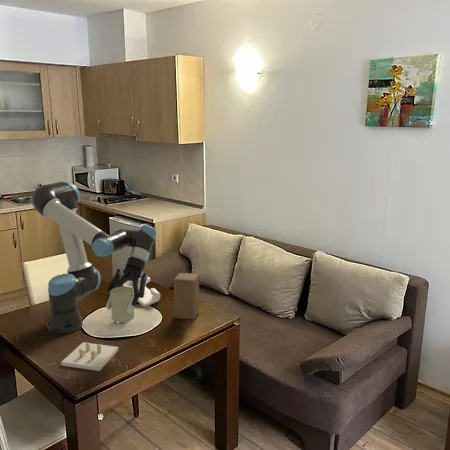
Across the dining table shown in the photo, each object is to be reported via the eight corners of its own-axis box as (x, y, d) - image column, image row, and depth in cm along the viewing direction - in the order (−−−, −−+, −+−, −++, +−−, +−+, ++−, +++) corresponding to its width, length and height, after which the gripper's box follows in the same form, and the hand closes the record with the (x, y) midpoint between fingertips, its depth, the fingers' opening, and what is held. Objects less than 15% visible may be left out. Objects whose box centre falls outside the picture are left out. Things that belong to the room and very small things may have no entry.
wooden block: (194, 320, 217) (193, 280, 212) (173, 318, 218) (173, 278, 214) (199, 311, 226) (199, 273, 221) (180, 310, 228) (179, 271, 223)
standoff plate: (61, 365, 178) (60, 354, 176) (83, 345, 193) (82, 335, 192) (99, 370, 174) (98, 360, 173) (118, 350, 189) (117, 340, 188)
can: (116, 311, 192) (114, 284, 189) (137, 312, 191) (136, 285, 188) (108, 321, 184) (106, 294, 180) (130, 323, 183) (128, 295, 179)
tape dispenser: (156, 307, 242) (164, 289, 236) (141, 315, 233) (148, 296, 227) (132, 284, 250) (139, 266, 244) (116, 290, 241) (123, 271, 235)
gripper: (163, 267, 193) (145, 318, 183) (119, 260, 200) (99, 309, 190) (156, 259, 186) (137, 312, 176) (111, 252, 194) (90, 302, 184)
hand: (118, 310), depth 183 cm, fingers closed on can, 9 cm apart
